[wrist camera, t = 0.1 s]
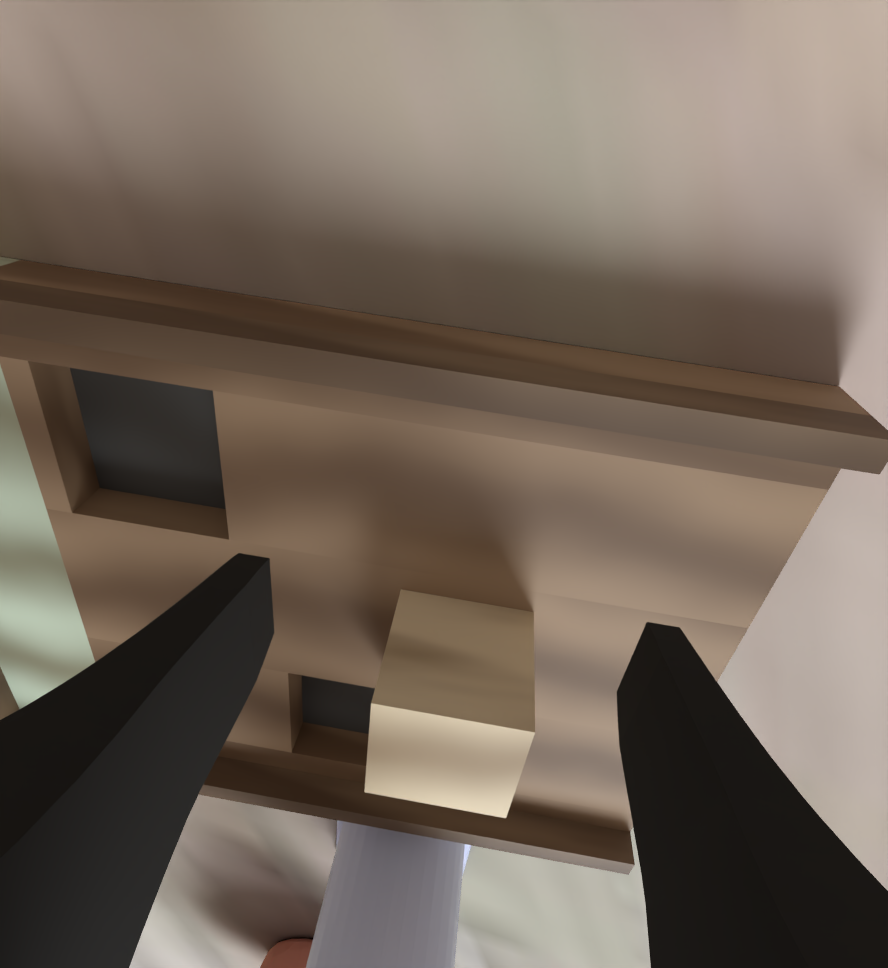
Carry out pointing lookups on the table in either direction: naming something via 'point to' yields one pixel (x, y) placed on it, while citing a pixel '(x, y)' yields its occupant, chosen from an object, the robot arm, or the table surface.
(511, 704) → the block
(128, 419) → the trap box
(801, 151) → the table surface
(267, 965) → the decorative flower
